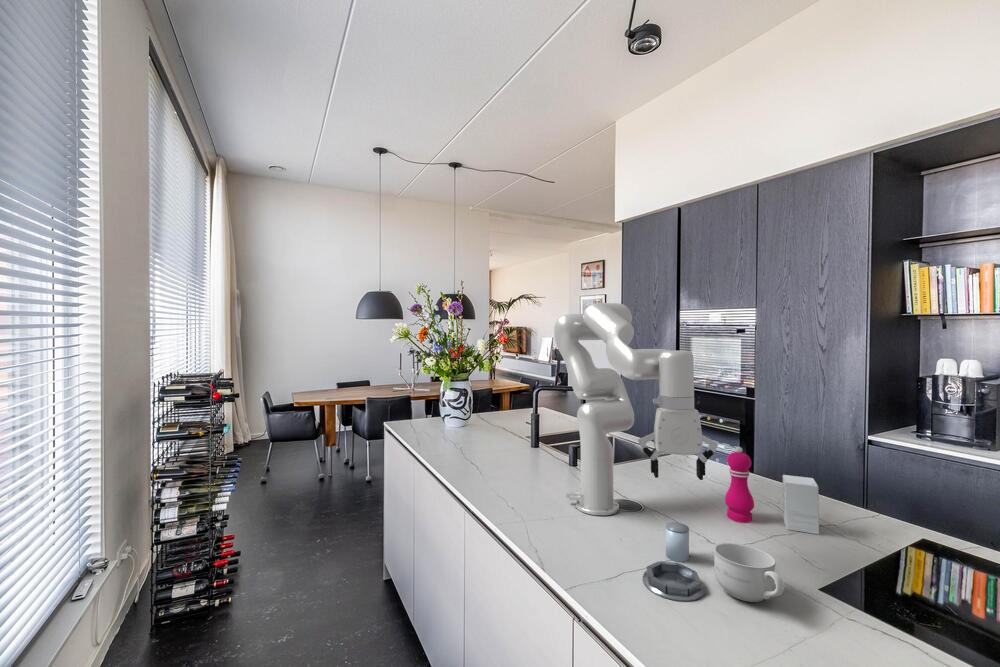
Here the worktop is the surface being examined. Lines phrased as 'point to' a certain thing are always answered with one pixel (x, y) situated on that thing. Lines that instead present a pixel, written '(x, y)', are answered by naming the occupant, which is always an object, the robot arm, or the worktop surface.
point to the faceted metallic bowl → (673, 581)
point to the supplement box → (800, 504)
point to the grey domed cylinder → (677, 542)
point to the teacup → (746, 572)
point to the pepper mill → (739, 488)
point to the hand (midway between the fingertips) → (677, 477)
